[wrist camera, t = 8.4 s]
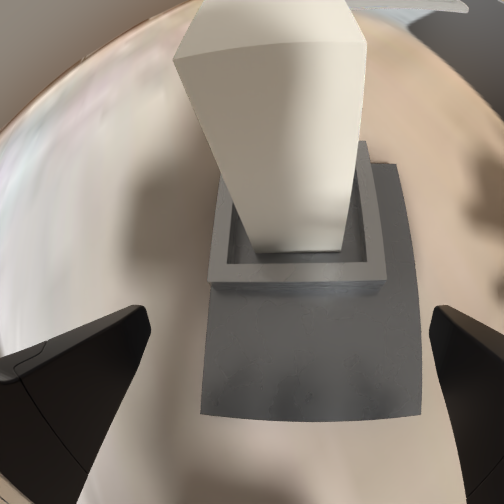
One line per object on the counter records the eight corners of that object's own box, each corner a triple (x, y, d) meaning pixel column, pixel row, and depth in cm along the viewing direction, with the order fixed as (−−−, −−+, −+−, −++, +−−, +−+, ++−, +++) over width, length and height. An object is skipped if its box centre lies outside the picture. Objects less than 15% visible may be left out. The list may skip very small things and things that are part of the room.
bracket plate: (415, 413, 14) (430, 417, 12) (205, 412, 16) (190, 416, 14) (391, 164, 21) (397, 141, 18) (229, 169, 23) (220, 146, 21)
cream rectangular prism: (340, 252, 18) (366, 42, 6) (255, 253, 19) (172, 59, 7) (334, 179, 20) (336, -15, 8) (259, 181, 21) (205, -3, 9)
